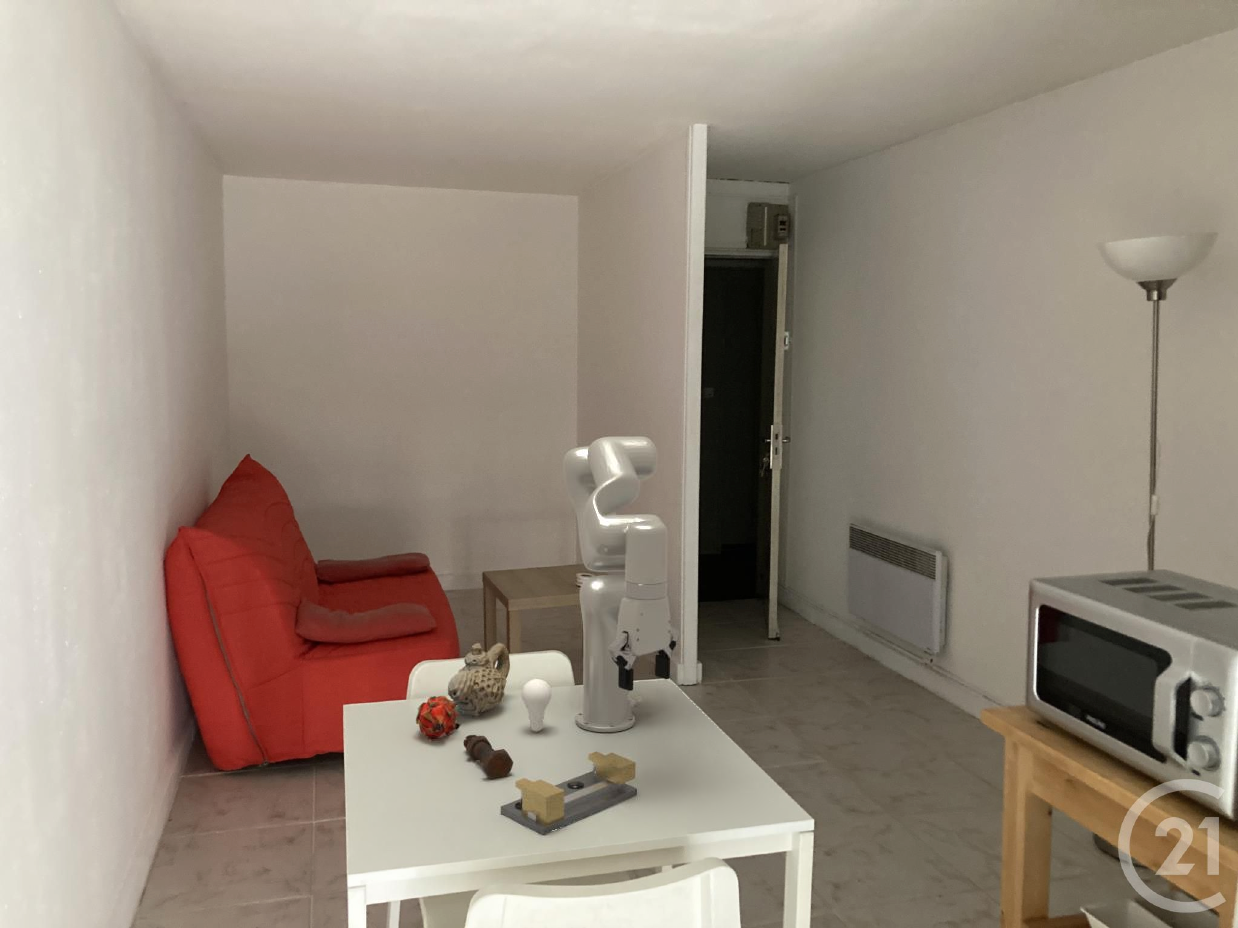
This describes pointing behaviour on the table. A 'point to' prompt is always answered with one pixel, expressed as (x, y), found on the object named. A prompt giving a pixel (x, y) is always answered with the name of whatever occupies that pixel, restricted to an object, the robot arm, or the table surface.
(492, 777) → the bolt
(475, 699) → the teapot
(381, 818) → the table surface
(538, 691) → the lightbulb
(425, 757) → the table surface
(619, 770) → the block
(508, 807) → the hole plate
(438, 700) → the dragon fruit
